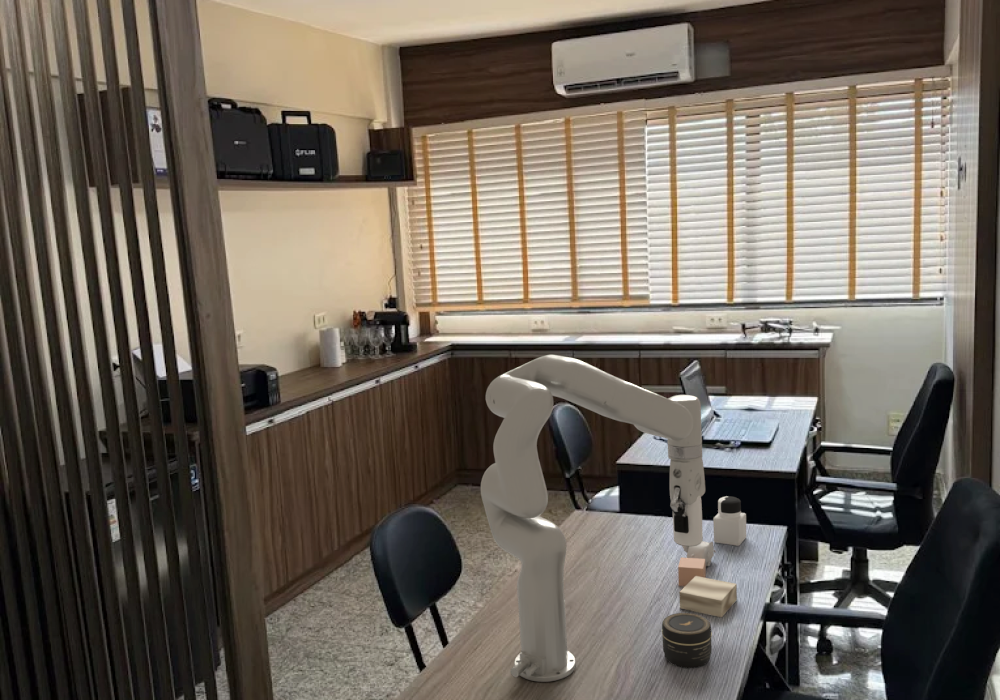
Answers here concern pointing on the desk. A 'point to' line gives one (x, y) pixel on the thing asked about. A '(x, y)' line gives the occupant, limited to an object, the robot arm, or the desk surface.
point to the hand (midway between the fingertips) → (687, 526)
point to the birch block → (708, 596)
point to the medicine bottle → (729, 522)
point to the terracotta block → (690, 569)
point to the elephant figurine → (701, 552)
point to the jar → (687, 640)
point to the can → (691, 525)
